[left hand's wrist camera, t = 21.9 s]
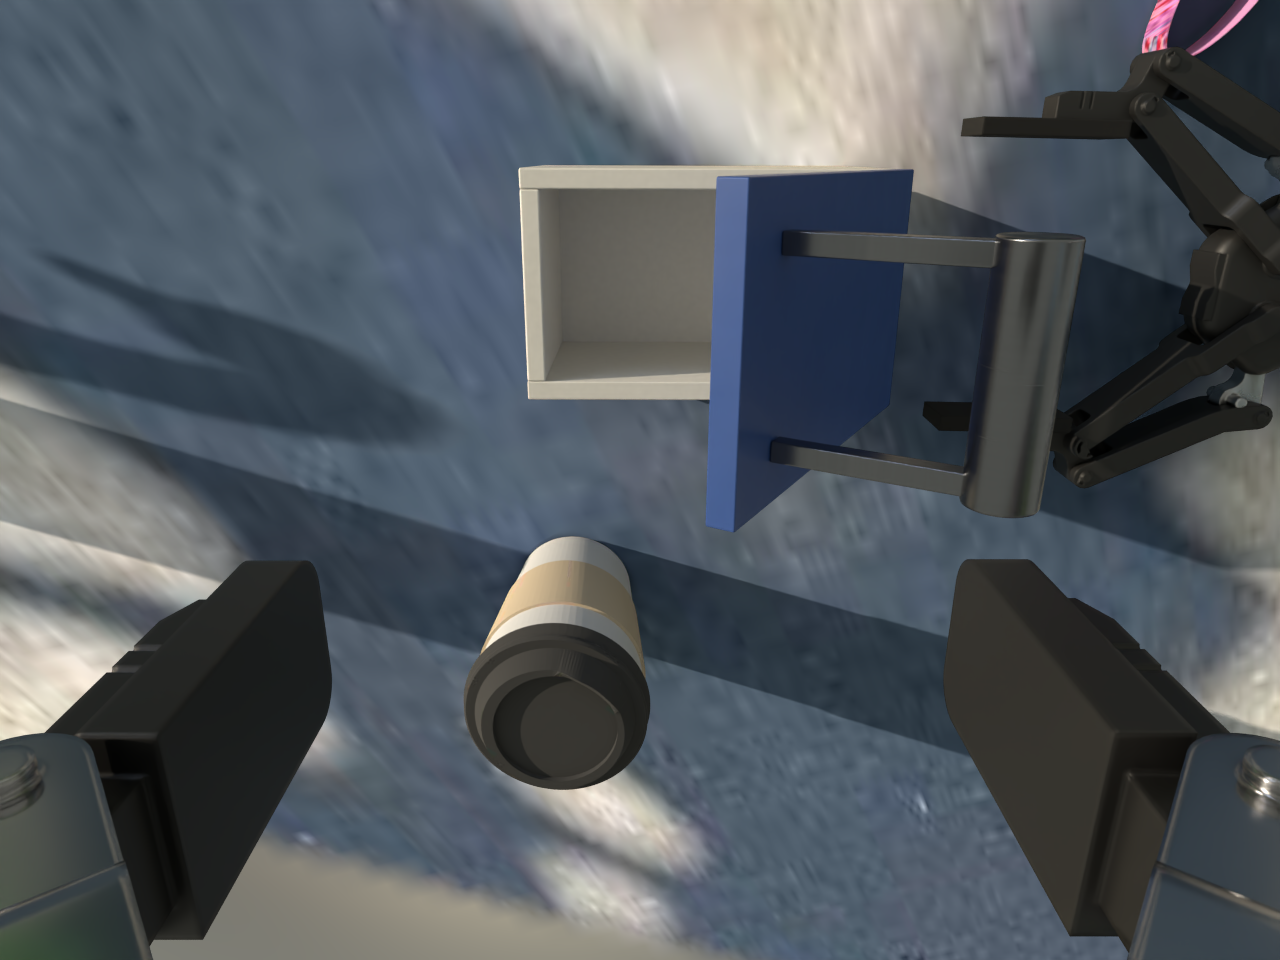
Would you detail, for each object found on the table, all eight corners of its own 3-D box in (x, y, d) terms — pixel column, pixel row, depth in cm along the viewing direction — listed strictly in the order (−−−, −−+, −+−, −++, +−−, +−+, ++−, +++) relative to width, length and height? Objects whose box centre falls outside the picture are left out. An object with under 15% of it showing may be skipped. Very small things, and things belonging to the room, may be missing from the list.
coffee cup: (588, 675, 57) (572, 846, 43) (473, 597, 55) (415, 750, 41) (677, 576, 54) (691, 723, 40) (559, 490, 52) (530, 614, 38)
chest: (549, 353, 50) (528, 399, 40) (543, 165, 46) (518, 168, 37) (831, 354, 50) (875, 400, 40) (846, 166, 46) (898, 169, 37)
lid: (705, 526, 27) (1015, 597, 22) (715, 176, 23) (1085, 182, 19) (868, 402, 40) (1080, 431, 36) (890, 169, 37) (1128, 171, 32)
